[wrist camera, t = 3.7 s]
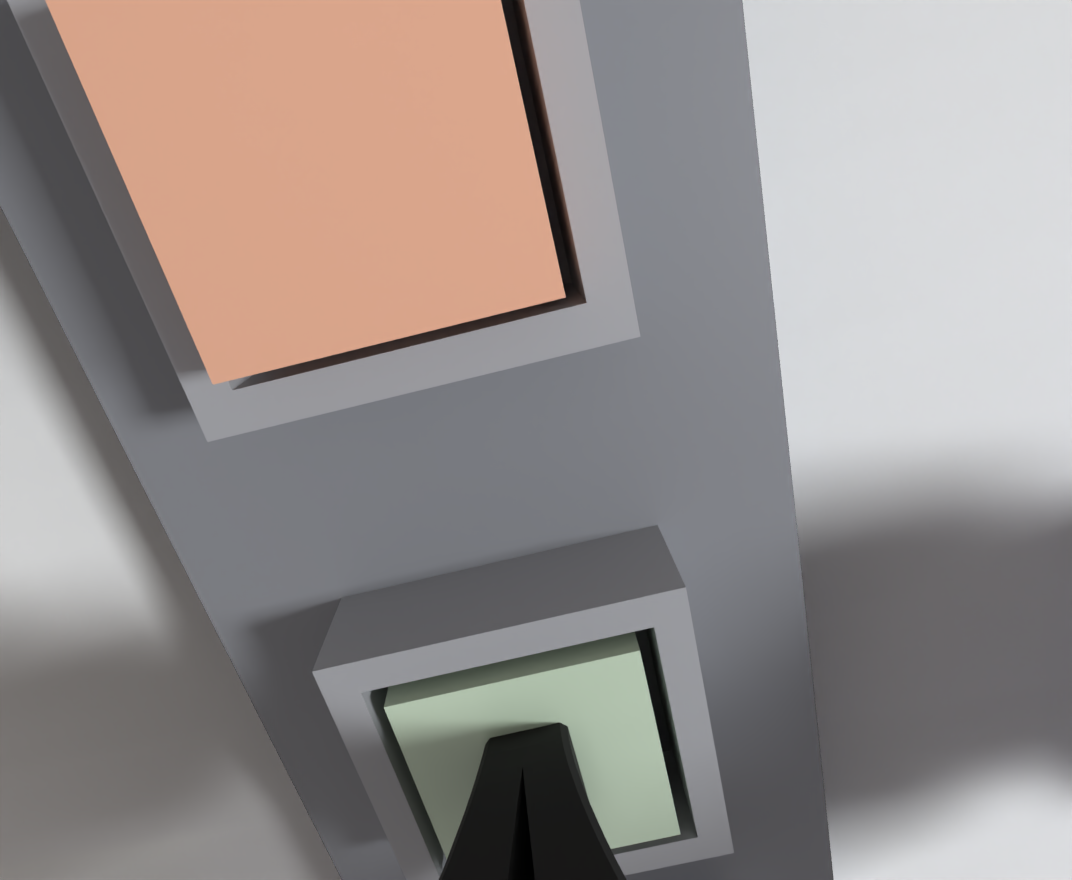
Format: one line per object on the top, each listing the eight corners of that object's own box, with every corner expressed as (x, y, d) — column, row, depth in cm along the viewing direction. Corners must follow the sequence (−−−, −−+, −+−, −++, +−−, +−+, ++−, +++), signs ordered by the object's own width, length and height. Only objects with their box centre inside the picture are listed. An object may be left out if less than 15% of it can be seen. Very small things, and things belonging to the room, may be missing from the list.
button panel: (808, 930, 20) (889, 1126, 16) (461, 1000, 20) (450, 1208, 16) (668, -153, 10) (779, -387, 6) (18, 25, 11) (-289, -79, 7)
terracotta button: (553, 276, 9) (565, 297, 7) (270, 346, 9) (211, 384, 8) (475, -76, 8) (466, -160, 6) (141, 16, 8) (28, -38, 6)
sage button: (656, 746, 14) (681, 834, 12) (462, 788, 14) (456, 881, 12) (619, 579, 12) (640, 649, 10) (402, 629, 12) (383, 707, 10)
